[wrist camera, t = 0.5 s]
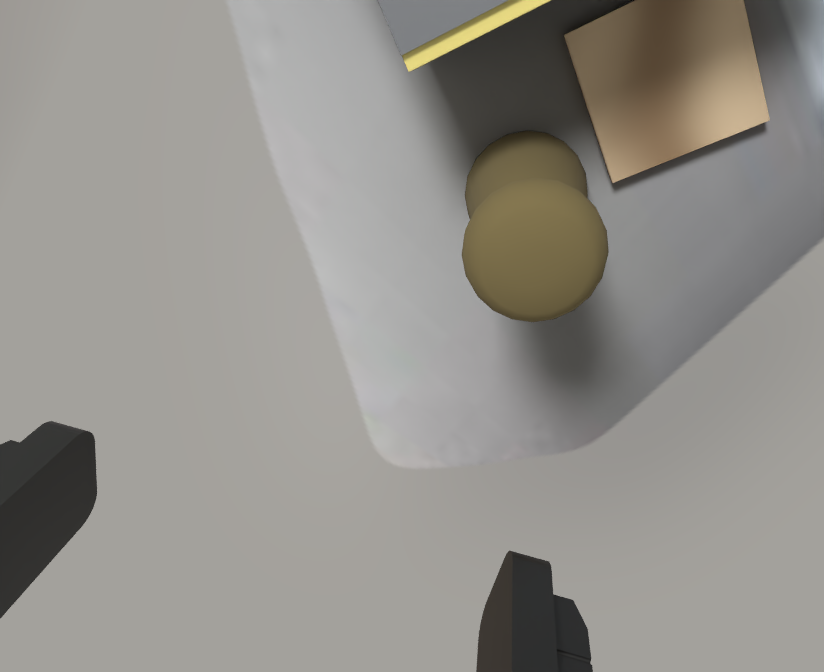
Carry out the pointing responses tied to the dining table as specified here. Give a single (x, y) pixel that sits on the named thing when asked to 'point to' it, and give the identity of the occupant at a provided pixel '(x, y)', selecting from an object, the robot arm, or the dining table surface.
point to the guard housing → (446, 24)
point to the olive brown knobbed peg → (532, 228)
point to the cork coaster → (667, 79)
